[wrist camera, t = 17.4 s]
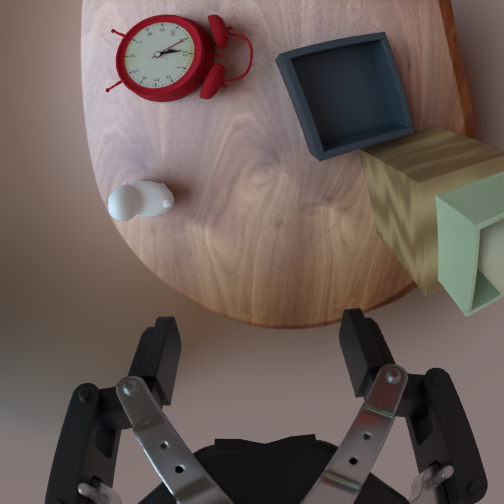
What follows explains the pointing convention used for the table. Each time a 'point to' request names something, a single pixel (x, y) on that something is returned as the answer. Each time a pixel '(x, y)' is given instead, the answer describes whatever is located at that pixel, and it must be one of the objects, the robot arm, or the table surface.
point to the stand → (421, 191)
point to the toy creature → (140, 200)
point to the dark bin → (346, 94)
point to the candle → (492, 254)
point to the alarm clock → (173, 58)
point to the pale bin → (467, 240)
